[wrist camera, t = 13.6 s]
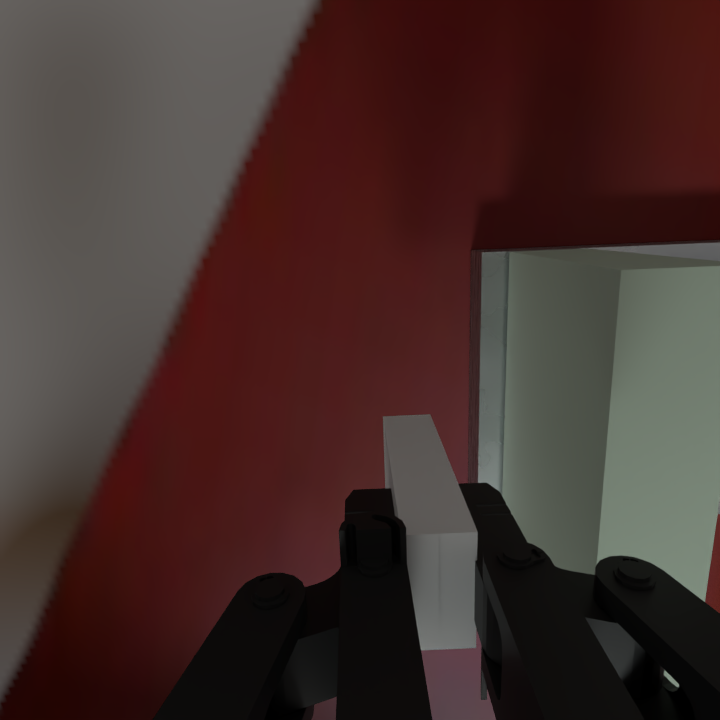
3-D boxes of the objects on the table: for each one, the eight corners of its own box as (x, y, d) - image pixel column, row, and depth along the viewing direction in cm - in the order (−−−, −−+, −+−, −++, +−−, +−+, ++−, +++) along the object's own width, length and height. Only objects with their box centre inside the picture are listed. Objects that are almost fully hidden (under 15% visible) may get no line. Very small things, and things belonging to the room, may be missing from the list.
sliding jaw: (501, 527, 23) (585, 698, 15) (509, 251, 20) (620, 270, 12) (568, 523, 23) (691, 693, 15) (586, 248, 20) (754, 264, 12)
